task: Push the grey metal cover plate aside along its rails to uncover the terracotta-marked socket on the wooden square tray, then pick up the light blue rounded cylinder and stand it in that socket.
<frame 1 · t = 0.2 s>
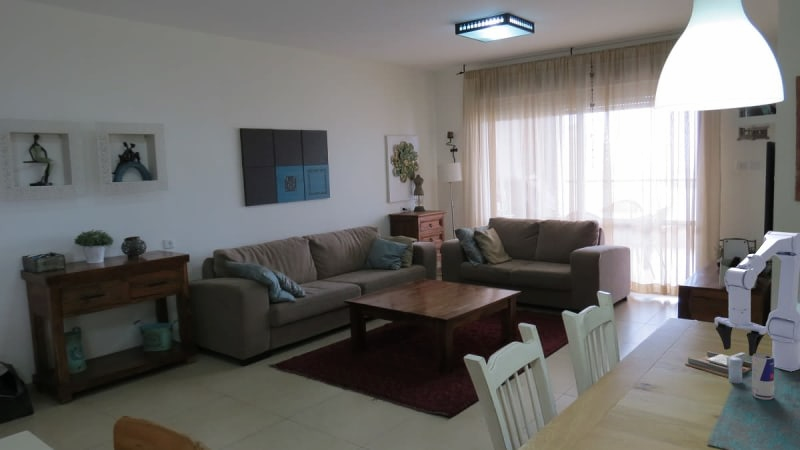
hand: (739, 352, 175), 10 cm above the table, tool pointing down, fingers open, 7 cm apart
cover: (725, 357, 189), point 4 cm above the table, slide at 0.0 cm
wooden square tray: (719, 366, 191), on the table
light blue rounded cylinder: (735, 381, 178), on the table
energy drink: (762, 397, 166), on the table
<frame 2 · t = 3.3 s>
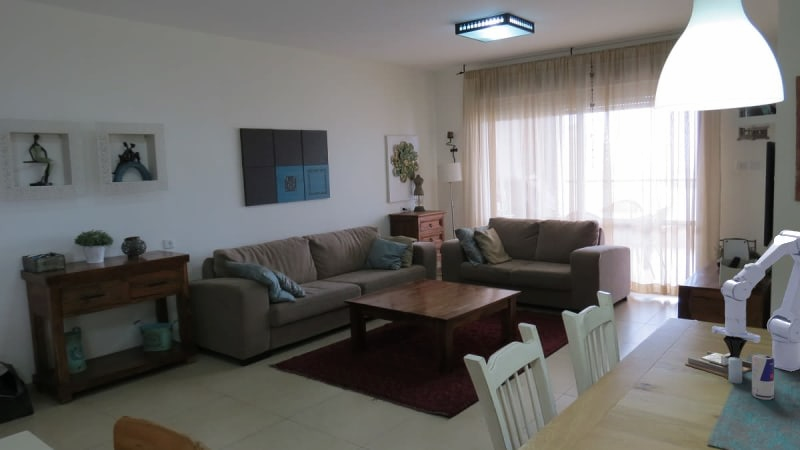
hand: (735, 359, 186), 4 cm above the table, tool pointing down, fingers closed
cover: (720, 355, 190), point 4 cm above the table, slide at 1.9 cm, touching gripper
everything else where it was.
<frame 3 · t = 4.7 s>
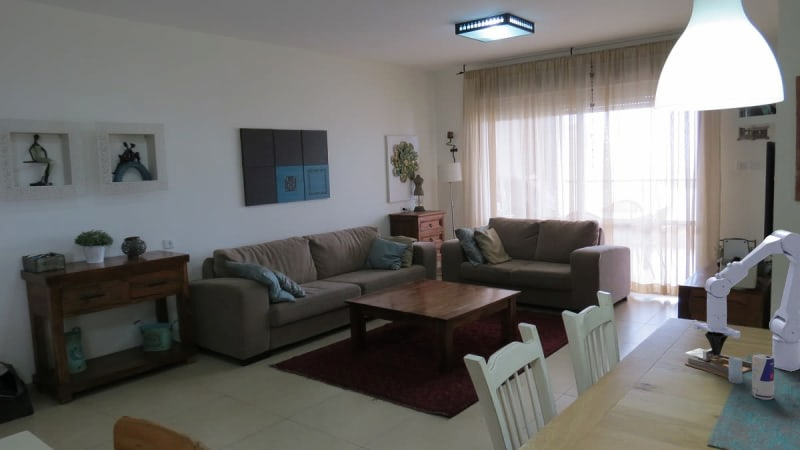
hand: (716, 354, 191), 4 cm above the table, tool pointing down, fingers closed
cover: (702, 350, 196), point 4 cm above the table, slide at 8.0 cm, touching gripper
everything else where it was.
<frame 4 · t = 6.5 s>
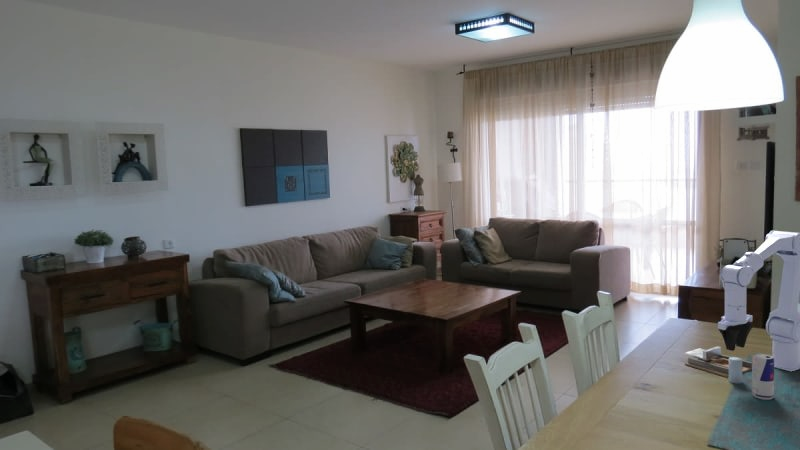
hand: (735, 348, 177), 10 cm above the table, tool pointing down, fingers open, 4 cm apart
cover: (702, 350, 196), point 4 cm above the table, slide at 8.1 cm
everything else where it was.
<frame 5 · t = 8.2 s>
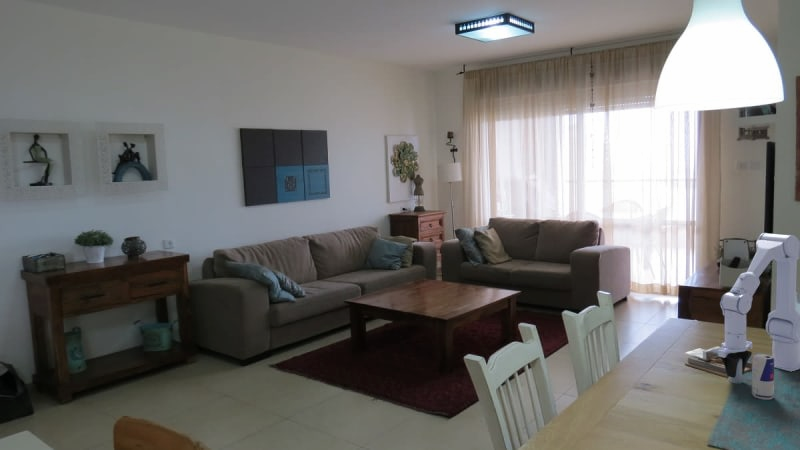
hand: (735, 375, 178), 2 cm above the table, tool pointing down, fingers closed on light blue rounded cylinder, 4 cm apart
light blue rounded cylinder: (735, 381, 178), on the table, touching gripper
everything else where it was.
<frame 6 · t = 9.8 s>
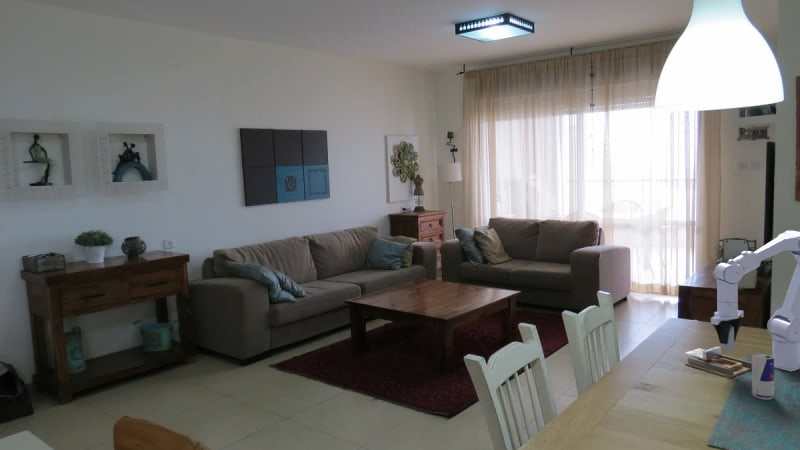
hand: (727, 342, 186), 9 cm above the table, tool pointing down, fingers closed on light blue rounded cylinder, 4 cm apart
light blue rounded cylinder: (727, 348, 186), point 7 cm above the table, touching gripper
everything else where it was.
when the fingers open (4 cm above the table, at t = 11.5 s): light blue rounded cylinder stays where it is, resting on wooden square tray.
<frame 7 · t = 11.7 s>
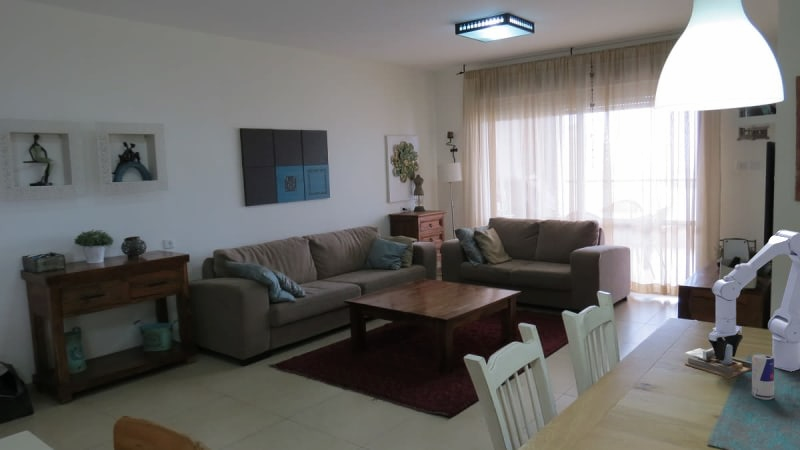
hand: (725, 357, 189), 4 cm above the table, tool pointing down, fingers open, 5 cm apart
light blue rounded cylinder: (725, 366, 189), point 1 cm above the table, touching wooden square tray
everything else where it was.
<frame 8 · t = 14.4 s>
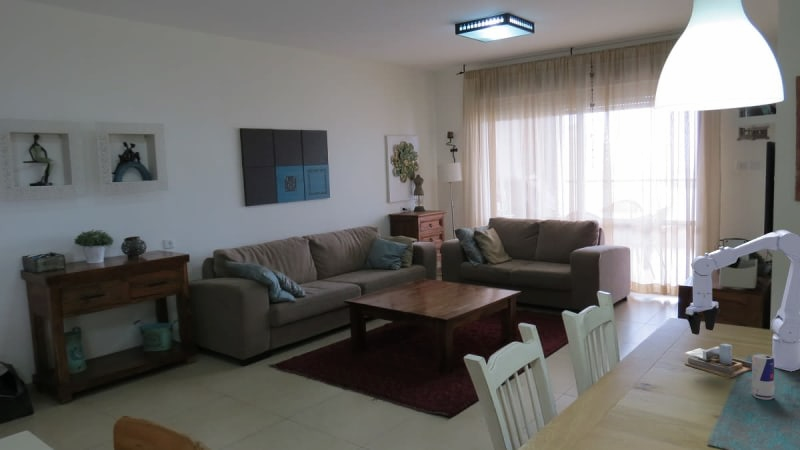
hand: (702, 331, 195), 10 cm above the table, tool pointing down, fingers open, 7 cm apart
nothing on the table moved.
at the end: cover slide at 8.1 cm; light blue rounded cylinder 0.0 cm from the target spot, point 0.7 cm above the table; light blue rounded cylinder tilted 0° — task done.
